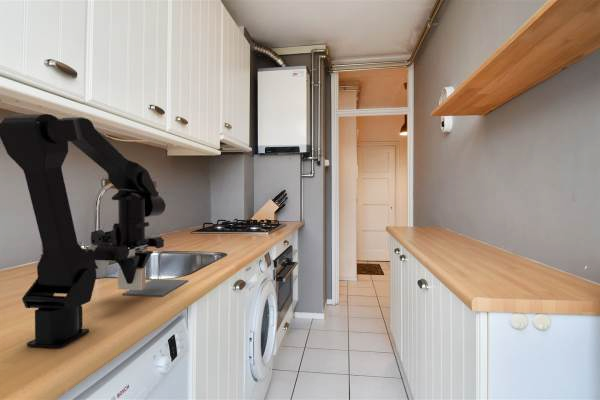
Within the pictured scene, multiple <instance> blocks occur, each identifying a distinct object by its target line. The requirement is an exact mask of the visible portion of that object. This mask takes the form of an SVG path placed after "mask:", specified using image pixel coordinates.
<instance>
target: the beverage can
mask: <svg viewBox="0 0 600 400" xmlns="http://www.w3.org/2000/svg"><path fill="white" fill-rule="evenodd" d="M96 247H97V245H93V244H92V243H91V241H90V242H89V249H92V250H94V249H95V248H96ZM95 263H96V265H97V267H98V269H96V279H103V278H106V277H108V275H109V272H110V271H109V266H110V265H109V261H106V260H95Z"/></svg>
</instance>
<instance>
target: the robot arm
mask: <svg viewBox="0 0 600 400" xmlns="http://www.w3.org/2000/svg"><path fill="white" fill-rule="evenodd" d="M0 140H1V142H2V145H3V147H4V149H5V152H6V154H7V155H8V156H9V158H11V159H12V160H13V161H14V162H15V163H16V164H17V165H18V167H19V168H20V169H21V170H22V171H23V173H24V177H25V178H24V179H25V181H26V185H27V190H28V192H29V197H30V201H31V205H32V209H33V213H34V217H35V221H36V225H37V228H38V229H37V230H38V233H39V236H40V237H39V238H40V241H41V247H42V246H43V251H44V252H42V253H41V254H42V256H41V255H40V259H39V261H38V263H37V264H36V265H37V266H36V272H37V278H36V279H35V281H34V282H33V283H32V284H31V286H30V287H29V288H28V290H27V291H26V293H24V294H23V296H22V298H21V301H22V303H23V304H24V305H23V306H24V307H25V309H30V308H31V309H35V310H34V338H33V339H31V340H30V341H28V342H27V343H26V346H27V347H37V348H38V347H39V348H52V349H53V348H54V349H55V348H56V349H59V348H62V347H64V346H66V345H68V344H70V343H71V342H73V341H75V340H77V339H79V338H81V337H82V336H84V335H86V334H87V333H89V332H90V328H83V326H84V325H83V305H86V304H87V303H89V302H91V299H92V296H93V292H94V288H95V284H96V280H97V278H96V269H98V267H97V265H96V263H95V260H106V261H108V262H109V261H113V262H116V263H117V264H118V265H119V268H121V270H122V272H123V274H124V277H125V279H126V282H127V283H128V284H131V283H132V282H133V279H134V276H135V272H136V268H145V266H146V265H147V263H148V261H149V259H150V257H151V255H153V254H154V251H152V250H149V248H150V247H152V248H154V247H155V248H156V249H161V248H164V247H165V246H164V245H165V240H164V239H163V237H161V236H146V227H149V225H150V223H149V222H148V221H146V218H149V217H151V218H152V217H158V216H160V215H162V214H163V213H164V212H165V210H166V207H167V206H166V203H165V200H164V199H163V198H162V196H160V195H159V191H157V189H156V186H155V183H154V182H153V179H152V177H151V175H150V173H149V171H148V170H147V168H145V167H144V166H143V165H141V164H139V163H138V162H135V161H133V160H129V159H128V158H126V157H125V156H123V154H122V153H120V151H119V150H118V149H116V148H115V147H114V146H113V145H112V143H110V141H108V139H106V138H105V137H104V136H103V135H102V133H100V131H98V130H97V129H96V128H95V126H94V123H93V122H92V120H90V119H88V118H86V117H83V116H82V117H81V116H79V117H78V116H77V117H76V116H75V117H74V116H73V117H61V118H60V119H59V118H58V117H56V116H54V115H52V114H49V113H33V114H31V113H29V114H11V115H10V114H9V115H8V116H5V117H4V118H3V120H1V122H0ZM69 142H70V143H72V144H73V145H74V146H75V147H77V149H79V150H80V151H81V152H82V153H83V154H85V155H86V156H87V157H88V158H89V159H91V160H92V162H94V163H96V164H97V165H98V166H99V167H100V168H101V169H102V170H104V171H105V172H106V174H107V179H108V181H109V182H110V184H112V186H113V187H114V189H116V190H117V192H116V193H115V194H114V195H113V196H112V197H111V200H112V201H117V203H118V204H117V205H118V206H117V207H118V208H117V209H118V217H117V218H118V219H117V221H118V222H117V223H113V226H112V230H110V231H109V230H108V231H104V230H102V229H98V230H94V231H91V233H90V242H91V243H92V244H93V245H97V247H96V248H95V249H94V250H92V249H90V248H83V247H82V246H81V245H80V244H79V242H78V238H77V234H76V229H75V225H74V221H73V220H74V219H73V215H72V210H71V207H70V206H71V205H70V202H69V197H68V193H67V188H66V183H65V179H64V174H63V169H62V168H63V164H64V162H65V160H66V158H67V155H68V153H69ZM148 247H149V248H148ZM55 294H58V295H55ZM59 294H61V295H59ZM63 294H64V295H66V296H64V295H63Z"/></svg>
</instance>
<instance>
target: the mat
mask: <svg viewBox="0 0 600 400" xmlns="http://www.w3.org/2000/svg"><path fill="white" fill-rule="evenodd" d="M186 282H187V283H188V282H189V280H187V279H166V278H165V279H162V278H161V279H159V278H153V279H151V280H149V281H147V282H146V281H145V289H143V290H126V291H125V292H122V294H121V295H122V296H130V297H131V296H132V297H133V296H137V297H156V298H157V297H158V298H159V297H161V298H163V297H165V296H166V295H168V294H169V292H170V293H171V292H173V291H174V289H175V290H176V289H178V288H180V287H182V286H183V285H185V284H187V283H186ZM184 283H185V284H184ZM179 286H180V287H179Z"/></svg>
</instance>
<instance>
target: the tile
mask: <svg viewBox="0 0 600 400" xmlns="http://www.w3.org/2000/svg"><path fill="white" fill-rule="evenodd" d="M145 283H146V267H144V268H136V272H135V276H134V279H133V282H132V283H131V284H128V283H127V282H126V279H125V277H124V274H123V272H122V270H121V267H119V268H118V269H117V290H126V291H129V290H143V289H145Z"/></svg>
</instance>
